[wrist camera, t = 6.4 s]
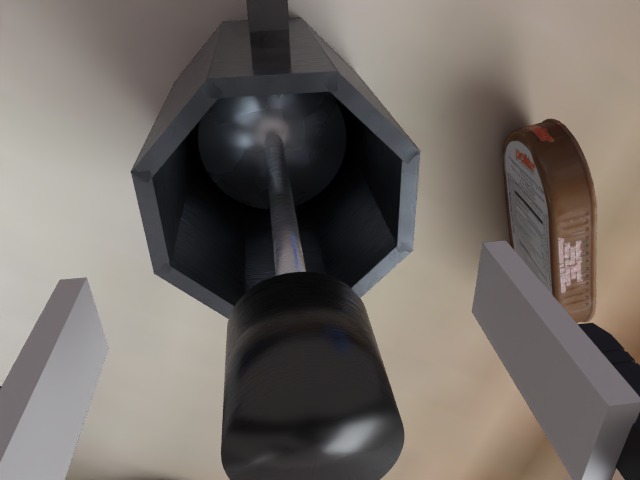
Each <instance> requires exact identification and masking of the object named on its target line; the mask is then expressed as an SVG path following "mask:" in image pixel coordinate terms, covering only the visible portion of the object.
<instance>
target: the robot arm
mask: <svg viewBox="0 0 640 480" xmlns="http://www.w3.org/2000/svg"><path fill="white" fill-rule="evenodd" d="M472 313H473V315H474V316H475V318H476V320H477V321H478V323H479V325H480V326H481V328H482V330H483V331H484V333H485V335H486V336H487V338H488V340H489V341H490V343H491V345H492V346H493V348H494V350H495V351H496V353H497V355H498V356H499V358H500V359H501V361H502V363H503V364H504V366H505V368H506V369H507V371H508V373H509V374H510V376H511V378H512V379H513V381H514V383H515V384H516V386H517V388H518V389H519V391H520V393H521V394H522V396H523V398H524V399H525V401H526V403H527V404H528V406H529V408H530V409H531V411H532V413H533V414H534V416H535V418H536V419H537V421H538V423H539V424H540V426H541V428H542V429H543V431H544V433H545V434H546V436H547V438H548V439H549V441H550V443H551V444H552V446H553V448H554V449H555V451H556V453H557V454H558V456H559V457H560V459H561V461H562V462H563V464H564V466H565V467H566V469H567V471H568V472H569V474H570V476H571V477H572V479H573V480H612V477H613V475H614V473H615V470H616V468H617V469H618V471H619V472H620V473H621V475H622V476H623V478H624V479H625V480H640V365H639V364H638V363H637V364H636V363H635V360H634V359H633V358H632V357H631V356H630V355H629V353H628V352H625V351H624V348H623V347H622V346H621V345H620V344H619V343H618V341H617V340H616V339H615V338H614V337H613V336H612V335H611V334H609V333H608V332H606V331H605V330H603V329H602V328H600V327H598V326H597V325H595V324H594V323H586V324H577V323H576V322H575V321H574V320H573V318H572V317H571V316H570V315H569V314H568V313H567V311H566V310H565V309H564V308H563V307H562V306H561V304H560V303H559V302H558V301H557V300H556V299H555V297H554V296H553V295H552V294H551V293H550V292H549V290H548V289H547V288H546V287H545V286H544V285H543V283H542V282H541V281H540V280H539V279H538V278H537V276H536V275H535V274H534V273H533V272H532V271H531V269H530V268H529V267H528V266H527V265H526V264H525V262H524V261H523V260H522V259H521V258H520V256H519V255H518V254H517V253H516V252H515V251H514V249H513V248H512V247H511V246H510V245H509V244H508V242H507V241H495V242H483V243H482V249H481V256H480V262H479V268H478V275H477V281H476V288H475V294H474V301H473V307H472ZM108 349H109V348H108V345H107V341H106V338H105V335H104V332H103V328H102V325H101V322H100V319H99V316H98V312H97V309H96V306H95V303H94V299H93V296H92V293H91V290H90V286H89V283H88V280H87V278H76V279H64V280H59V282H58V284H57V286H56V288H55V289H54V291H53V293H52V295H51V297H50V299H49V300H48V302H47V304H46V306H45V308H44V310H43V311H42V313H41V315H40V317H39V319H38V321H37V323H36V324H35V326H34V328H33V330H32V332H31V334H30V335H29V337H28V339H27V341H26V343H25V345H24V346H23V348H22V350H21V352H20V354H19V356H18V357H17V359H16V361H15V363H14V365H13V367H12V368H11V370H10V372H9V374H8V376H7V378H6V380H5V381H4V383H3V385H2V386H0V480H65V478H66V475H67V472H68V469H69V466H70V463H71V460H72V457H73V454H74V451H75V448H76V445H77V442H78V439H79V436H80V433H81V430H82V427H83V424H84V421H85V418H86V415H87V412H88V409H89V406H90V403H91V400H92V397H93V394H94V391H95V388H96V385H97V382H98V379H99V376H100V373H101V370H102V367H103V364H104V361H105V358H106V355H107V352H108Z"/></svg>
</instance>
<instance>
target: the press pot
mask: <svg viewBox="0 0 640 480" xmlns="http://www.w3.org/2000/svg"><path fill="white" fill-rule="evenodd" d="M247 11H248V20H246V21H224V22H222V23H221V24H220V26H219V27H218V28H217V30H216V31H215V32H214V33H213V35H212V36H211V37H210V38H209V40H208V41H207V42H206V43H205V45H204V46H203V47H202V48H201V50H200V51H199V52H198V54H197V55H196V56H195V57H194V59H193V60H192V61H191V62H190V64H189V65H188V66H187V67H186V69H185V70H184V71H183V72H182V74H181V75H180V76H179V78H178V79H177V80H176V81H175V83H174V85H173V87H172V89H171V91H170V93H169V95H168V97H167V99H166V101H165V103H164V105H163V107H162V109H161V111H160V113H159V115H158V117H157V119H156V121H155V123H154V125H153V127H152V129H151V131H150V133H149V135H148V137H147V140H146V142H145V144H144V146H143V148H142V150H141V152H140V154H139V156H138V158H137V160H136V162H135V164H134V166H133V168H132V170H131V174H132V178H133V183H134V187H135V191H136V196H137V200H138V205H139V209H140V213H141V218H142V222H143V227H144V231H145V235H146V240H147V244H148V249H149V253H150V257H151V262H152V266H153V270H154V274H156V275H157V276H159V277H161V278H162V279H164V280H166V281H167V282H169V283H171V284H172V285H174V286H175V287H177V288H179V289H180V290H182V291H184V292H185V293H187V294H189V295H190V296H192V297H193V298H195V299H197V300H198V301H200V302H202V303H203V304H205V305H207V306H208V307H210V308H212V309H213V310H215V311H216V312H218V313H220V314H221V315H223V316H225V317H226V318H228V319H229V317H230V314H231V312H232V310H233V308H234V306H235V305H236V303H237V302H238V301H239V299H240V298H241V297H242V296H243V295H244V294H245V293H246V292H247V291H249V290H250V289H251V288H252V287H254V286H255V285H257V284H259V283H260V282H262V281H264V280H266V279H269V278H271V277H274V276H276V271H275V259H274V248H273V236H272V225H271V214H270V209H262V208H257V207H252V206H249V205H246V204H243V203H241V202H239V201H237V200H235V199H233V198H232V197H230V196H229V195H227V194H226V193H225V192H224V191H222V190H221V189H220V188H219V187H218V186H217V185H216V184H215V183H214V181H213V180H212V179H211V177H210V176H209V174H208V173H207V171H206V169H205V167H204V165H203V162H202V159H201V156H200V152H199V145H198V130H199V124H200V119H201V118H202V117H203V116H204V115H205V113H206V112H207V111H208V110H209V109H210V107H211V106H212V105H213V104H214V103H215V101H216V100H217V99H218V98H228V97H245V96H262V95H279V94H296V93H313V92H330V93H331V95H332V96H333V97H334V99H335V101H336V103H337V105H338V107H339V108H340V110H341V113H342V116H343V119H344V122H345V127H346V149H345V154H344V158H343V161H342V164H341V166H340V168H339V170H338V172H337V174H336V175H335V177H334V178H333V180H332V181H331V182H330V183H329V184H328V186H327V187H326V188H325V189H324V190H322V191H321V192H320V193H319V194H317V195H316V196H315V197H313V198H312V199H310V200H308V201H306V202H304V203H301V204H299V205H296V206H294V208H295V213H296V219H297V224H298V230H299V236H300V241H301V247H302V252H303V258H304V264H305V269H306V272H315V273H320V274H325V275H328V276H331V277H334V278H336V279H338V280H340V281H342V282H343V283H345V284H347V285H348V286H349V287H350V288H352V289H353V290H354V291H355V292H356V293H357V295H358V296H359V297H360V298H361V297H362V296H363V295H364V294H365V293H366V292H367V291H368V290H370V289H371V288H372V287H373V286H374V285H375V284H376V283H377V282H378V281H380V280H381V279H382V278H383V277H384V276H385V275H386V274H387V273H388V272H390V271H391V270H392V269H393V268H394V267H395V266H396V265H397V264H398V263H400V262H401V261H402V260H403V259H404V258H405V257H406V256H407V255H408V254H410V253H411V252H412V251H413V240H414V227H415V214H416V201H417V187H418V174H419V161H420V150H419V149H418V147H417V146H416V145H415V144H414V143H413V141H412V140H411V139H410V138H409V136H408V135H407V134H406V133H405V131H404V130H403V129H402V128H401V127H400V125H399V124H398V123H397V122H396V120H395V119H394V118H393V117H392V115H391V114H390V113H389V112H388V111H387V109H386V108H385V107H384V106H383V104H382V103H381V102H380V101H379V100H378V98H377V97H376V96H375V95H374V93H373V92H372V91H371V90H370V88H369V87H368V86H367V85H366V84H365V82H364V81H363V80H362V79H361V77H360V76H359V75H358V74H357V73H356V71H354V70H353V69H352V68H351V67H350V66H349V65H348V64H347V63H346V62H345V61H344V60H343V59H342V58H341V57H340V56H339V55H338V54H337V53H336V52H335V51H334V50H333V49H332V48H331V47H330V46H329V45H328V44H327V43H326V42H325V41H324V40H323V39H322V38H321V37H320V36H319V35H318V34H317V33H316V32H315V31H314V30H313V29H312V28H311V27H310V26H309V25H308V24H307V23H306V22H305V21H304V20H303V19H302V18H290V19H288V0H247Z"/></svg>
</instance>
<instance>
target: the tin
mask: <svg viewBox="0 0 640 480" xmlns="http://www.w3.org/2000/svg"><path fill="white" fill-rule="evenodd" d="M503 167H504V179H505V190H506V201H507V211H508V221H509V230H510V239H511V247H512V248H513V249H514V251H515V252H516V253H517V254H518V255H519V256H520V258H521V259H522V260H523V261H524V262H525V264H526V265H527V266H528V267H529V268H530V269H531V271H532V272H533V273H534V274H535V275H536V276H537V278H538V279H539V280H540V281H541V282H542V283H543V285H544V286H545V287H546V288H547V289H548V290H549V292H550V293H551V294H552V295H553V296H554V297H555V299H556V300H557V301H558V302H559V303H560V304H561V306H562V307H563V308H564V309H565V310H566V311H567V313H568V314H569V315H570V316H571V317H572V318H573V320H574V321H575V322H576V323H578V322H588V321H590V320H591V319H592V318H593V316H594V314H595V309H596V240H597V232H596V231H597V204H596V196H595V190H594V185H593V180H592V177H591V173H590V170H589V167H588V164H587V161H586V159H585V156H584V154H583V152H582V150H581V148H580V146H579V144H578V142H577V140H576V139H575V137H574V136H573V135H572V133H571V132H570V131H569V130H568V129H567V127H566V126H565V125H564V124H562V123H561V122H560V121H558V120H555V119H547V120H544V121H543V122H542V123H538V124H535V125H531V126H528V127H524V128H521V129H518V130H516V131H514V132H512V133H511V134H510V135H509V136H508V137H507V139H506V141H505V145H504V150H503Z"/></svg>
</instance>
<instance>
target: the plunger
mask: <svg viewBox="0 0 640 480" xmlns="http://www.w3.org/2000/svg"><path fill="white" fill-rule="evenodd" d="M198 145H199V152H200V156H201V159H202V162H203V165H204V167H205V169H206V171H207V173H208V174H209V176H210V177H211V179H212V180H213V181H214V183H215V184H216V185H217V186H218V187H219V188H220V189H221V190H222V191H224V192H225V193H226V194H227V195H229V196H230V197H232V198H233V199H235V200H237V201H239V202H241V203H243V204H246V205H249V206H252V207H257V208H262V209H270V214H271V225H272V236H273V248H274V259H275V271H276V276H274V277H271V278H269V279H266V280H264V281H262V282H260V283H259V284H257V285H255V286H254V287H252V288H251V289H250V290H249V291H247V292H246V293H245V294H244V295H243V296H242V297H241V298H240V299H239V301H238V302H237V303H236V305H235V306H234V308H233V310H232V312H231V314H230V317H229V320H228V326H227V341H226V361H225V382H224V402H223V423H222V443H221V459H222V464H223V467H224V470H225V472H226V474H227V476H228V477H229V479H230V480H380V479H381V478H382V477H383V476H384V475H385V474H386V473H387V472H388V471H389V470H390V469H391V468H392V467H393V465H394V464H395V463H396V461H397V459H398V457H399V456H400V453H401V451H402V448H403V443H404V428H403V424H402V420H401V417H400V414H399V411H398V408H397V405H396V402H395V399H394V395H393V392H392V389H391V386H390V383H389V380H388V377H387V374H386V371H385V367H384V364H383V361H382V358H381V355H380V352H379V349H378V346H377V343H376V339H375V336H374V333H373V330H372V327H371V324H370V321H369V318H368V315H367V311H366V309H365V306H364V304H363V302H362V300H361V299H360V297H359V296H358V295H357V293H356V292H355V291H354V290H353V289H352V288H350V287H349V286H348V285H347V284H345V283H343V282H342V281H340V280H338V279H336V278H334V277H331V276H328V275H325V274H320V273H315V272H306V269H305V264H304V258H303V252H302V247H301V241H300V236H299V230H298V224H297V219H296V213H295V208H294V206H296V205H299V204H301V203H304V202H306V201H308V200H310V199H312V198H313V197H315V196H316V195H317V194H319V193H320V192H321V191H322V190H324V189H325V188H326V187H327V186H328V184H329V183H330V182H331V181H332V180H333V178H334V177H335V175H336V174H337V172H338V170H339V168H340V166H341V164H342V161H343V158H344V154H345V149H346V127H345V122H344V119H343V116H342V113H341V110H340V108H339V107H338V105H337V103H336V101H335V99H334V97H333V96H332V95H331V93H330V92H313V93H296V94H279V95H262V96H245V97H228V98H218V99H217V100H216V101H215V103H214V104H213V105H212V106H211V107H210V109H209V110H208V111H207V112H206V113H205V115H204V116H203V117H202V118H201V119H200V124H199V130H198Z"/></svg>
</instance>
